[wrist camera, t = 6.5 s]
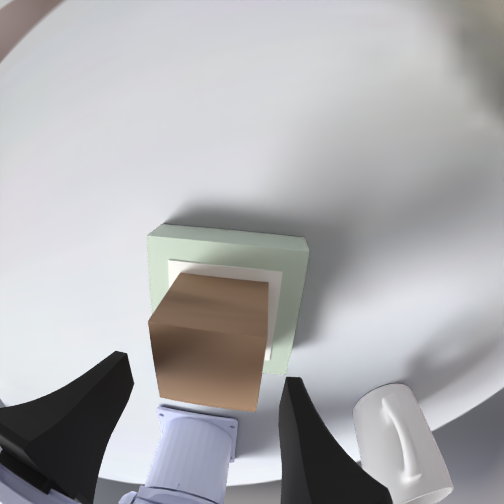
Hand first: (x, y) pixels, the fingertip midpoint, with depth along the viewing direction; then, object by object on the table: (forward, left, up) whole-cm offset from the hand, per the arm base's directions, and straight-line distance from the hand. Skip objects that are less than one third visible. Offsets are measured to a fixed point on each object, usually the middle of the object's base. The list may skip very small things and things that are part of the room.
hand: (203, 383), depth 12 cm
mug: (-9, -15, -8) cm, 19 cm away
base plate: (0, 0, -8) cm, 8 cm away
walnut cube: (0, 0, -6) cm, 6 cm away
